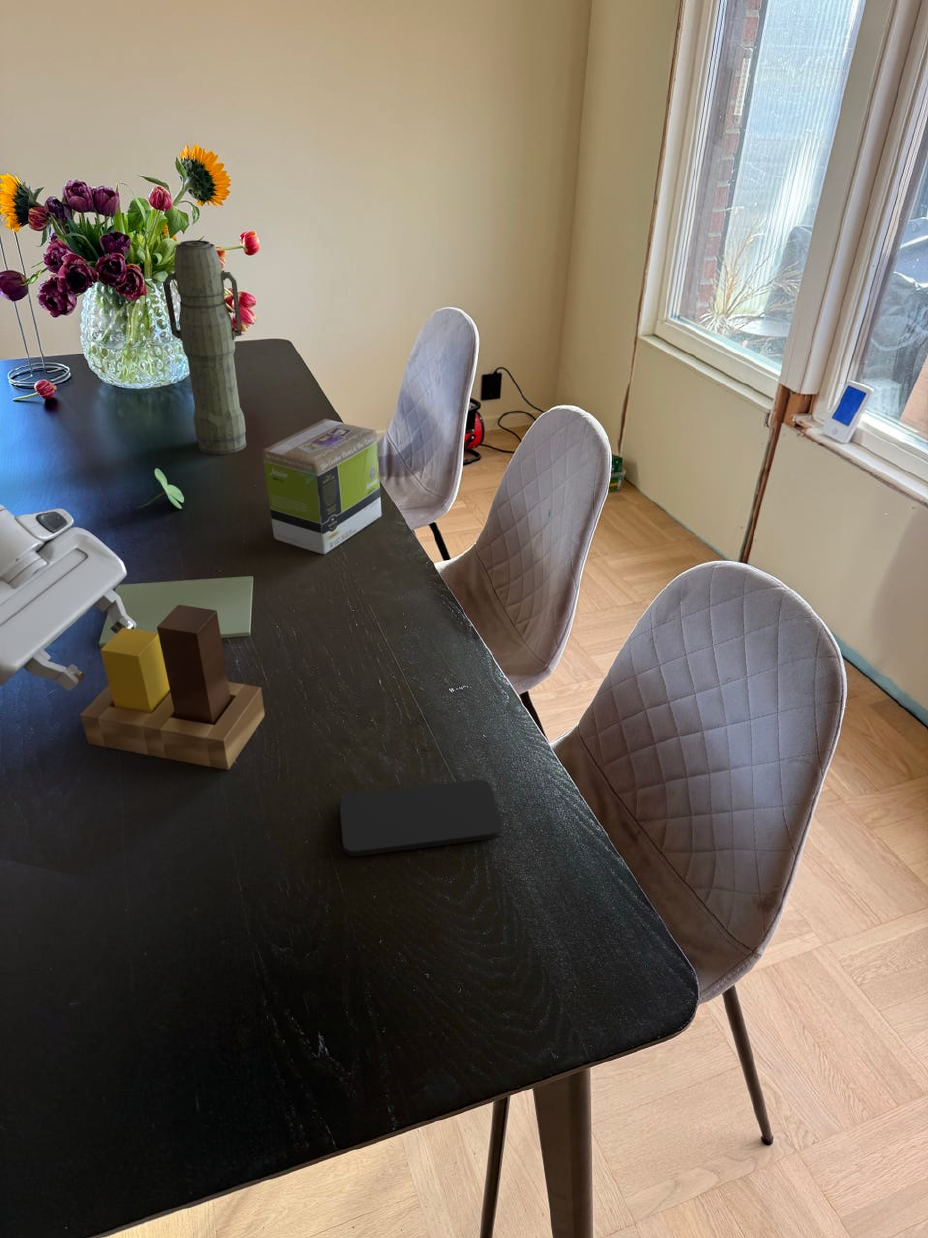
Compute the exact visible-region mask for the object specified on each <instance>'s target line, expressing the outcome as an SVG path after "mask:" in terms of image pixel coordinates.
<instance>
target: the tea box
mask: <svg viewBox="0 0 928 1238" xmlns="http://www.w3.org/2000/svg"><path fill="white" fill-rule="evenodd" d="M262 459H263V466H264V473H265V479H266V481H265V482H266V489H267V494H268V503H269V512H270V518H271V526H272V533H273V538H274V539H275V540H277V541H279V542H283V543H285V544H289V545H292V546H295V547H297V548H301V549H304V550H307V551H311V552H314V553H318V554H321V555H326V554H327V553H329V552H330V551H332V550H333V549H335V548H336V547H338V546H339V545H340V544H342V543H343V542H345V541H347V540H348V539H349V538H351V537H352V536H354V535H356V534H357V533H359V532H360V531H362V530H363V529H364V528H365V527H366V528H367V526H369V525H370V524H371V523H373V522H374V521H376V520H378V519H379V518H381V517H382V500H381V486H380V485H381V484H380V482H381V481H380V467H379V466H380V465H379V453H378V437H377V430H376V429H372V428H368V427H362V426H358V425H354V424H350V423H345V422H340V421H336V420H332V419H328V418H324V419H321V420H319V421H318V422H316V423H313V424H312V425H310V426H308V427H305V428H303V429H302V430H300V431H298V432H296V433H294V434H292V435H290V436H288V437H286V438H284V439H282V440H280V441H278V442H276V443H274V444H272V445H271V446H269V447H266V448H264V449H262Z"/></svg>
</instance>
